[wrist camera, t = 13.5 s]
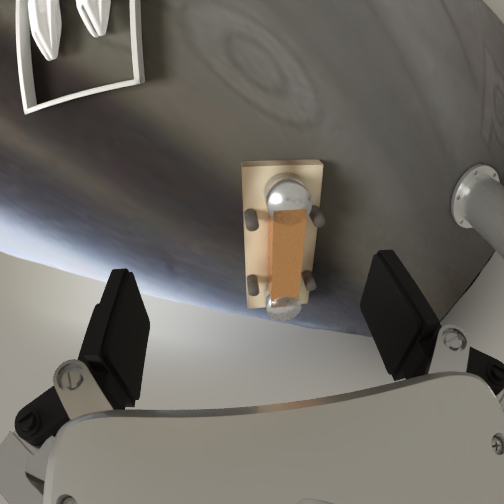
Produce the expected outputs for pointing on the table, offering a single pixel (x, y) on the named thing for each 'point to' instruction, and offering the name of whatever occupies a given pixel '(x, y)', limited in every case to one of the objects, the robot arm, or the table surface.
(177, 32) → the table surface
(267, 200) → the orange dumbbell
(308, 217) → the tool rack
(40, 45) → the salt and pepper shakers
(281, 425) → the robot arm
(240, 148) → the table surface
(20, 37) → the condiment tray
